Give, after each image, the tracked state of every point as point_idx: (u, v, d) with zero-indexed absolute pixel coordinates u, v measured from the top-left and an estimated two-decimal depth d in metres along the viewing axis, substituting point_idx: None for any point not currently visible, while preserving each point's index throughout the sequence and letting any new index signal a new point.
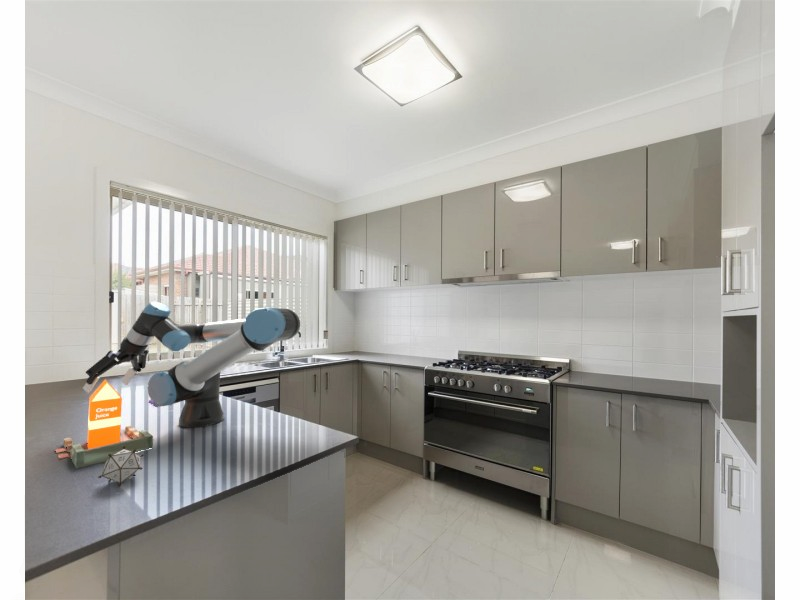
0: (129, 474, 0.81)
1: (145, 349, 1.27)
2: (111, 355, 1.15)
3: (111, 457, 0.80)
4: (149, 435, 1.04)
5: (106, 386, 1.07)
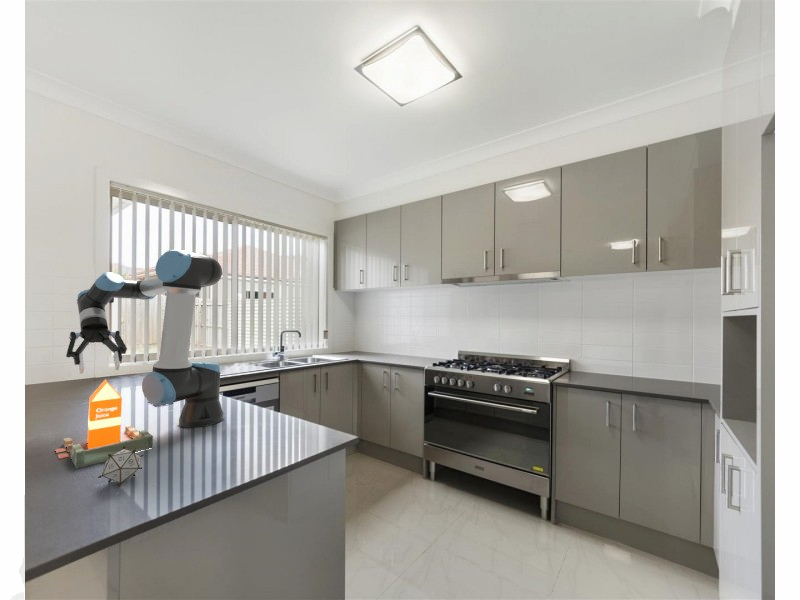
0: (129, 474, 0.81)
1: None
2: (70, 334, 1.17)
3: (111, 457, 0.80)
4: (149, 435, 1.04)
5: (106, 386, 1.07)
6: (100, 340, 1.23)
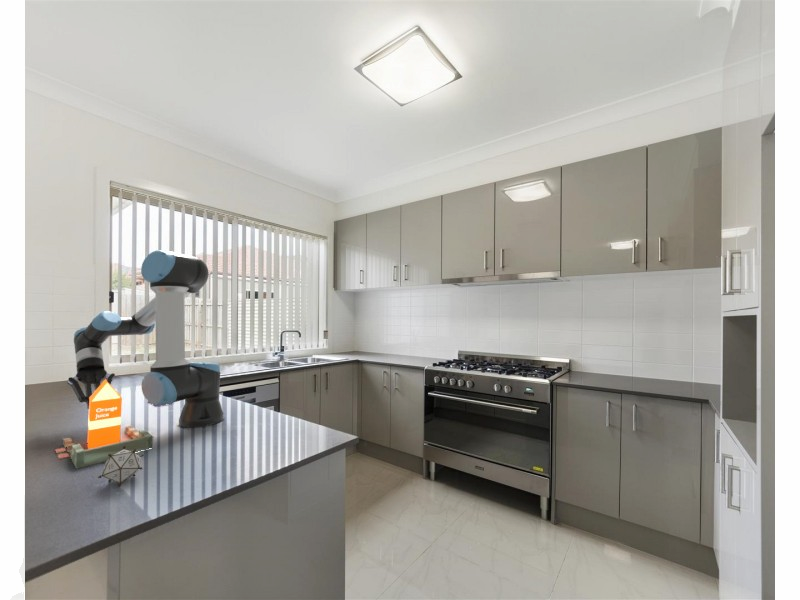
0: (129, 474, 0.81)
1: None
2: (69, 381, 1.17)
3: (111, 457, 0.80)
4: (149, 435, 1.04)
5: (106, 386, 1.07)
6: None
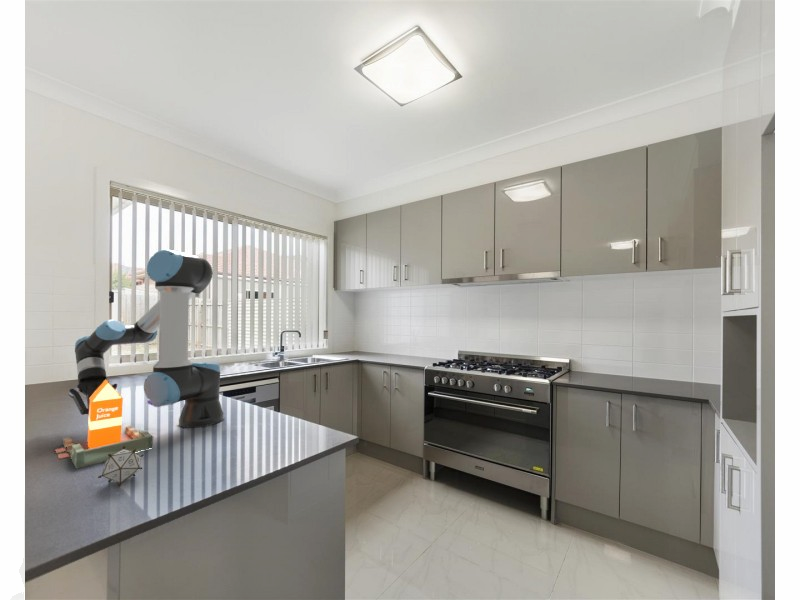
0: (129, 474, 0.81)
1: None
2: (70, 392, 1.13)
3: (111, 457, 0.80)
4: (149, 435, 1.04)
5: (107, 386, 1.06)
6: None
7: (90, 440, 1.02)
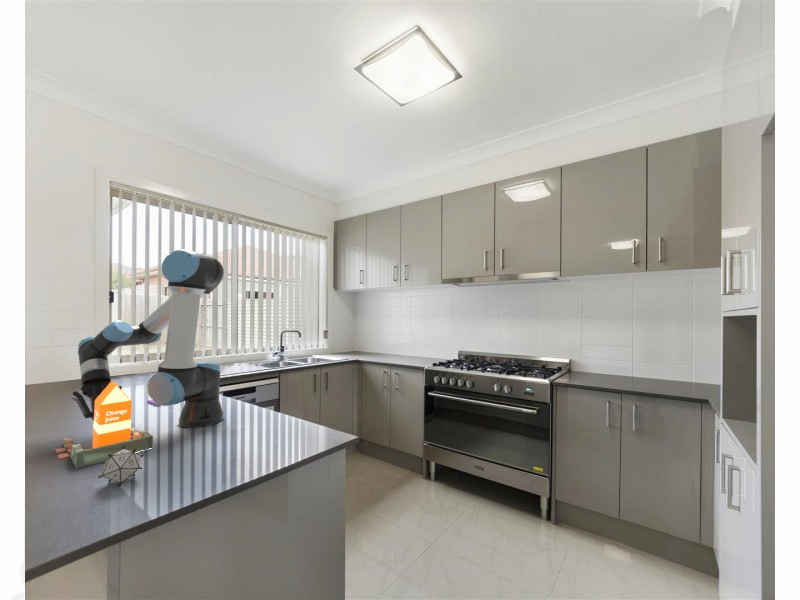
0: (129, 474, 0.81)
1: (119, 387, 1.19)
2: (73, 395, 1.09)
3: (111, 457, 0.80)
4: (149, 435, 1.04)
5: (115, 388, 1.03)
6: None
7: (99, 444, 0.99)
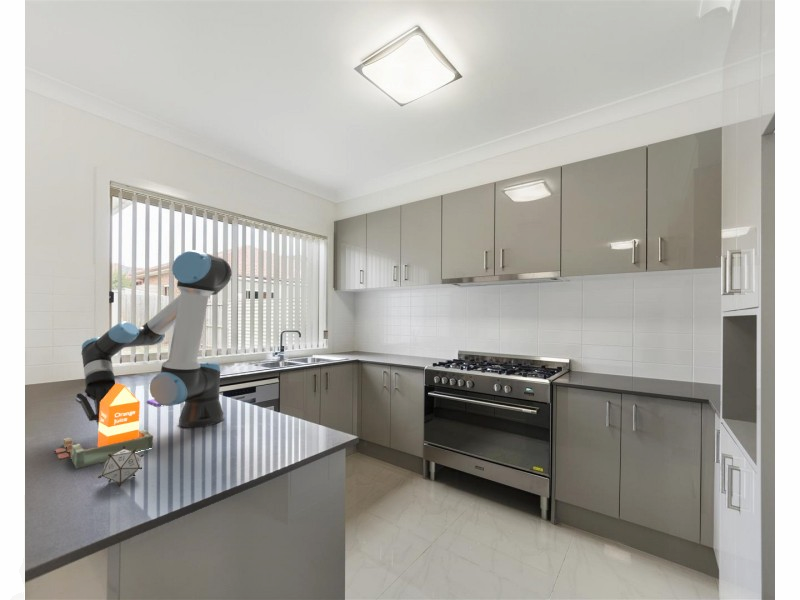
0: (129, 474, 0.81)
1: None
2: (77, 397, 1.07)
3: (111, 457, 0.80)
4: (149, 435, 1.04)
5: (123, 389, 1.02)
6: None
7: None
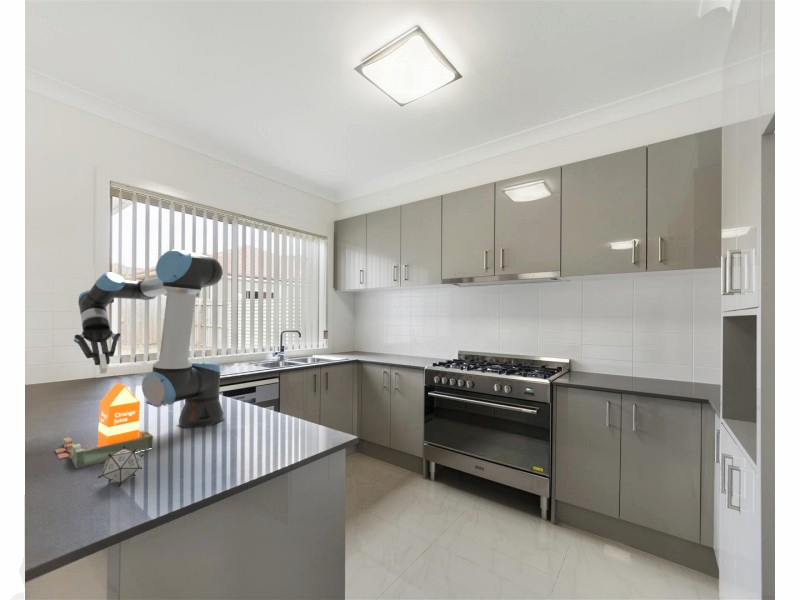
0: (129, 474, 0.81)
1: None
2: (75, 338, 1.17)
3: (111, 457, 0.80)
4: (149, 435, 1.04)
5: (123, 390, 1.02)
6: None
7: None
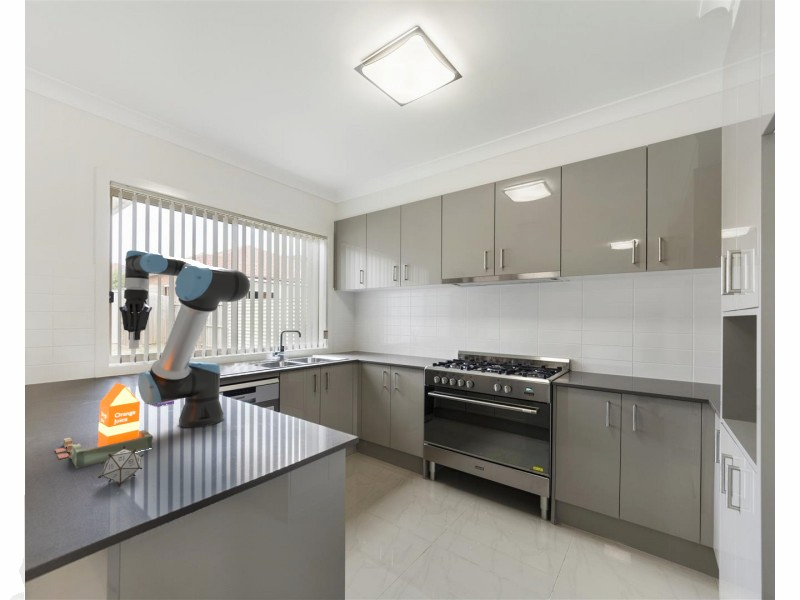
0: (129, 474, 0.81)
1: (148, 306, 1.32)
2: None
3: (111, 457, 0.80)
4: (149, 435, 1.04)
5: (123, 390, 1.02)
6: None
7: None
